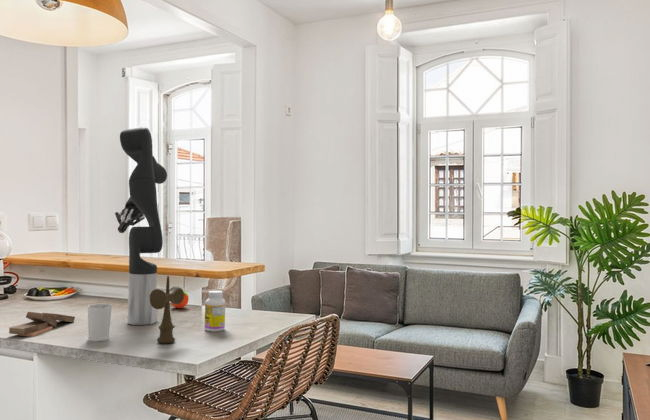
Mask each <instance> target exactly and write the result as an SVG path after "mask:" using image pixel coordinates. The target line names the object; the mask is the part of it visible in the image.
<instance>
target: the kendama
mask: <svg viewBox="0 0 650 420" xmlns="http://www.w3.org/2000/svg"><path fill="white" fill-rule="evenodd" d="M183 291H184V290H183V288H181V287H180V286H177V285H176V286H172V287H170V276H169V275H167V276H166V284H165V291H164V290H163V289H160V288H156V289H154V290H153V291H152V292H151V294H150V304H151V306H152V307H153V308H155V309H158V310H162V309H163V315H162V319H161V322H160V323H161V324H160V325H159V326H158V329H159V337H158V338H157V340H156V342H158V343H159V344H163V345H164V344H165V345H166V344H172V343H174V342H175V341H176V338H175V337H174V335H173V333H174V331H173V330H174V329H175V325H174V324H173V322H172V316H171V307H170V305H171V303H174V304H180V303H182V301H183V299H184V292H185V291H184V292H183Z"/></svg>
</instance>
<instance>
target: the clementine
mask: <svg viewBox="0 0 650 420" xmlns="http://www.w3.org/2000/svg"><path fill="white" fill-rule="evenodd" d="M183 292H184V299H183V301H182V303H180V304H174V303H171V302H170V305H172V307H174V308H176V309H183V308H185V307H186V306H187V305H188V303H189V299H190V297H189V294H188V293H187V292H186V291H184V290H183Z"/></svg>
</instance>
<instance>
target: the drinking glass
mask: <svg viewBox="0 0 650 420" xmlns="http://www.w3.org/2000/svg"><path fill="white" fill-rule="evenodd" d="M111 317H112V304H109V303H95V304H93V303H92V304H89V305H87V329H88V330H87V331H88V333H87V334H88V335H87V338H88V339H87V340H88V341H90V342H102V341H108V340H109V339H110V332H111V331H110V329H111V320H112V319H111Z"/></svg>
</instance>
